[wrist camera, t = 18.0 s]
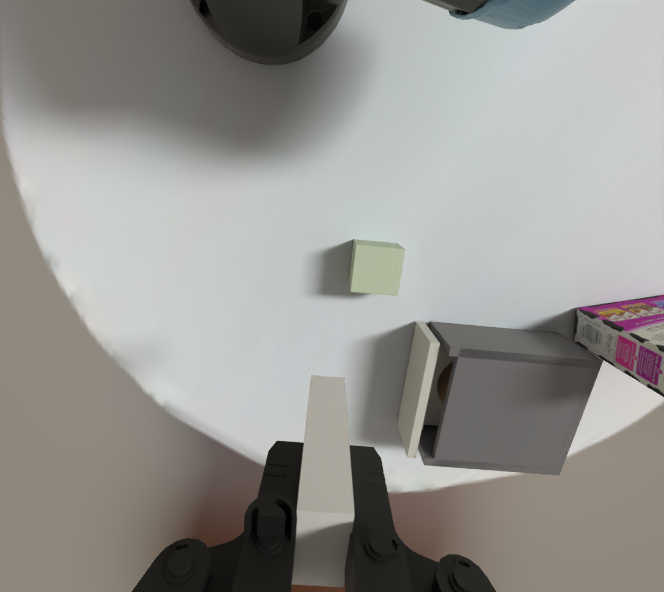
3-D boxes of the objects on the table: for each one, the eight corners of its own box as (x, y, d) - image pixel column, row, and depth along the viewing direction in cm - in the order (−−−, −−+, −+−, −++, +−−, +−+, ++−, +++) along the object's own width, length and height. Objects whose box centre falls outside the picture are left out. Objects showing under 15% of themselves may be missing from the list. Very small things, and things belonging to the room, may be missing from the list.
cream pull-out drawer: (541, 332, 40) (576, 355, 35) (510, 432, 45) (536, 467, 39) (416, 321, 40) (430, 342, 34) (397, 423, 44) (407, 457, 38)
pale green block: (353, 239, 37) (356, 244, 33) (397, 243, 37) (405, 249, 33) (348, 282, 38) (350, 291, 35) (390, 285, 39) (397, 296, 35)
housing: (558, 333, 40) (603, 360, 34) (525, 433, 45) (559, 475, 38) (430, 321, 40) (450, 347, 33) (409, 424, 44) (424, 465, 38)
